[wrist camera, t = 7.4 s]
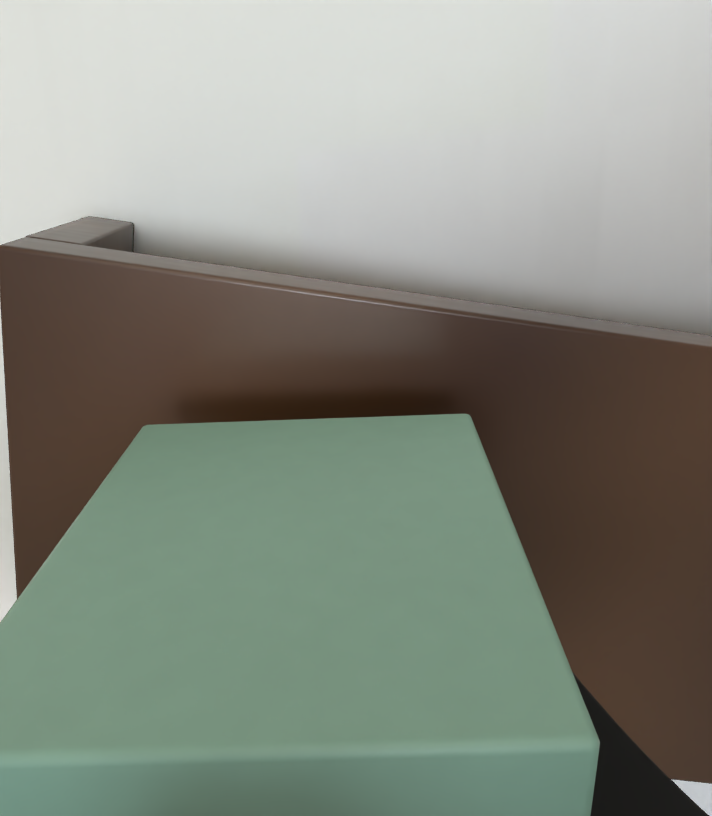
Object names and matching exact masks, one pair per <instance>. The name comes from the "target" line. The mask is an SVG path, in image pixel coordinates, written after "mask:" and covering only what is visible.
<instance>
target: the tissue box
mask: <svg viewBox="0 0 712 816" xmlns="http://www.w3.org/2000/svg"><path fill="white" fill-rule="evenodd" d="M599 747H600V740H599V738H598V735H597V733H596V730H595V728H594V725H593V723H592V720H591V718H590V715H589V713H588V710H587V708H586V705H585V703H584V700H583V698H582V695H581V693H580V690H579V688H578V685H577V683H576V680H575V678H574V675H573V673H572V670H571V667H570V665H569V662H568V660H567V657H566V655H565V652H564V650H563V647H562V645H561V642H560V640H559V637H558V635H557V632H556V630H555V627H554V625H553V622H552V620H551V617H550V615H549V612H548V610H547V607H546V605H545V602H544V600H543V597H542V595H541V592H540V589H539V587H538V584H537V582H536V579H535V577H534V574H533V572H532V569H531V567H530V564H529V562H528V559H527V557H526V554H525V552H524V549H523V547H522V544H521V542H520V539H519V537H518V534H517V532H516V529H515V527H514V524H513V522H512V519H511V516H510V514H509V511H508V509H507V506H506V504H505V501H504V499H503V496H502V494H501V491H500V489H499V486H498V484H497V481H496V479H495V476H494V474H493V471H492V469H491V466H490V464H489V461H488V459H487V456H486V454H485V451H484V449H483V446H482V444H481V441H480V438H479V436H478V433H477V431H476V428H475V426H474V423H473V421H472V418H471V416H470V415H468V414H440V415H411V416H383V417H354V418H326V419H298V420H269V421H241V422H212V423H184V424H156V425H146V426H143V427H142V428H141V430H140V431H139V433H138V434H137V435H136V437H135V438H134V439H133V441H132V442H131V444H130V445H129V446H128V448H127V449H126V450H125V452H124V453H123V455H122V456H121V457H120V459H119V460H118V462H117V463H116V464H115V466H114V467H113V468H112V470H111V471H110V473H109V474H108V475H107V477H106V478H105V479H104V481H103V482H102V484H101V485H100V486H99V488H98V489H97V490H96V492H95V493H94V495H93V496H92V497H91V499H90V500H89V501H88V503H87V504H86V506H85V507H84V508H83V510H82V511H81V512H80V514H79V515H78V517H77V518H76V519H75V521H74V522H73V523H72V525H71V526H70V528H69V529H68V530H67V532H66V533H65V534H64V536H63V537H62V539H61V540H60V541H59V543H58V544H57V545H56V547H55V548H54V550H53V551H52V552H51V554H50V555H49V556H48V558H47V559H46V561H45V562H44V563H43V565H42V566H41V567H40V569H39V570H38V572H37V573H36V574H35V576H34V577H33V578H32V580H31V581H30V583H29V584H28V585H27V587H26V588H25V589H24V591H23V592H22V594H21V595H20V596H19V598H18V599H17V600H16V602H15V603H14V605H13V606H12V607H11V609H10V610H9V611H8V613H7V614H6V616H5V617H4V618H3V620H2V621H1V622H0V816H591V808H592V801H593V793H594V785H595V778H596V770H597V763H598V755H599Z"/></svg>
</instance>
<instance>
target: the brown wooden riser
mask: <svg viewBox="0 0 712 816" xmlns="http://www.w3.org/2000/svg"><path fill="white" fill-rule="evenodd" d="M0 302H1V320H2V338H3V355H4V373H5V391H6V409H7V427H8V445H9V463H10V481H11V499H12V517H13V535H14V553H15V571H16V589H17V599H18V598H19V596H20V595H21V594H22V592H23V591H24V589H25V588H26V587H27V585H28V584H29V583H30V581H31V580H32V578H33V577H34V576H35V574H36V573H37V572H38V570H39V569H40V567H41V566H42V565H43V563H44V562H45V561H46V559H47V558H48V556H49V555H50V554H51V552H52V551H53V550H54V548H55V547H56V545H57V544H58V543H59V541H60V540H61V539H62V537H63V536H64V534H65V533H66V532H67V530H68V529H69V528H70V526H71V525H72V523H73V522H74V521H75V519H76V518H77V517H78V515H79V514H80V512H81V511H82V510H83V508H84V507H85V506H86V504H87V503H88V501H89V500H90V499H91V497H92V496H93V495H94V493H95V492H96V490H97V489H98V488H99V486H100V485H101V484H102V482H103V481H104V479H105V478H106V477H107V475H108V474H109V473H110V471H111V470H112V468H113V467H114V466H115V464H116V463H117V462H118V460H119V459H120V457H121V456H122V455H123V453H124V452H125V450H126V449H127V448H128V446H129V445H130V444H131V442H132V441H133V439H134V438H135V437H136V435H137V434H138V433H139V431H140V430H141V428H142V427H143V426H146V425H156V424H184V423H212V422H241V421H269V420H298V419H326V418H354V417H383V416H411V415H440V414H468V415H470V416H471V418H472V421H473V423H474V426H475V428H476V431H477V433H478V436H479V438H480V441H481V444H482V446H483V449H484V451H485V454H486V456H487V459H488V461H489V464H490V466H491V469H492V471H493V474H494V476H495V479H496V481H497V484H498V486H499V489H500V491H501V494H502V496H503V499H504V501H505V504H506V506H507V509H508V511H509V514H510V516H511V519H512V522H513V524H514V527H515V529H516V532H517V534H518V537H519V539H520V542H521V544H522V547H523V549H524V552H525V554H526V557H527V559H528V562H529V564H530V567H531V569H532V572H533V574H534V577H535V579H536V582H537V584H538V587H539V589H540V592H541V595H542V597H543V600H544V602H545V605H546V607H547V610H548V612H549V615H550V617H551V620H552V622H553V625H554V627H555V630H556V632H557V635H558V637H559V640H560V642H561V645H562V647H563V650H564V652H565V655H566V657H567V660H568V662H569V665H570V667H571V670H572V672H573V673H574V674H575V675H576V677H577V678H578V679H579V680H580V681H581V683H582V684H583V685H584V686H585V687H586V689H587V690H588V691H589V692H590V693H591V694H592V695H593V697H594V698H595V699H596V700H597V701H598V702H599V703H600V705H601V706H602V707H603V708H604V709H605V710H606V711H607V713H608V714H609V715H610V716H611V717H612V718H613V719H614V721H615V722H616V723H617V724H618V725H619V726H620V727H621V728H622V729H623V730H624V731H625V733H626V734H627V735H628V736H629V737H630V738H631V739H632V740H633V741H634V742H635V743H636V744H637V745H638V746H639V748H640V749H641V750H642V751H643V752H644V753H645V754H646V755H647V756H648V757H649V758H650V759H651V760H652V761H653V762H654V763H655V764H656V765H657V766H658V767H659V768H660V769H661V770H662V771H663V772H664V773H665V774H666V775H667V776H668V777H669V778H670V779H674V780H684V781H693V782H702V783H711V784H712V336H709V335H702V334H696V333H689V332H682V331H675V330H668V329H661V328H654V327H647V326H640V325H633V324H626V323H619V322H612V321H605V320H598V319H592V318H585V317H578V316H571V315H564V314H557V313H550V312H543V311H536V310H529V309H522V308H515V307H508V306H501V305H494V304H487V303H481V302H474V301H467V300H460V299H453V298H446V297H439V296H432V295H425V294H418V293H411V292H404V291H397V290H390V289H383V288H377V287H370V286H363V285H356V284H349V283H342V282H335V281H328V280H321V279H314V278H307V277H300V276H293V275H286V274H279V273H273V272H266V271H259V270H252V269H245V268H238V267H231V266H224V265H217V264H210V263H203V262H196V261H189V260H182V259H175V258H169V257H162V256H155V255H148V254H141V253H134V252H133V224H132V223H131V222H124V221H117V220H110V219H104V218H97V217H90V216H88V217H85V218H82V219H79V220H76V221H72V222H69V223H66V224H63V225H60V226H57V227H54V228H50V229H47V230H44V231H41V232H38V233H35V234H31V235H28V236H26V237H24V238H21V239H18V240H15V241H12V242H8V243H5V244H2V245H0Z"/></svg>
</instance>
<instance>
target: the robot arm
mask: <svg viewBox="0 0 712 816" xmlns="http://www.w3.org/2000/svg"><path fill="white" fill-rule="evenodd" d="M572 673H573V672H572ZM573 675H574V678H575V680H576V683H577V685H578V688H579V690H580V693H581V695H582V698H583V700H584V703H585V705H586V708H587V710H588V713H589V715H590V718H591V720H592V723H593V725H594V728H595V730H596V733H597V735H598V738H599V740H600V747H599V755H598V763H597V770H596V778H595V785H594V793H593V801H592V808H591V816H709V815H707V814H706V813H705V812H704V811H703V810H702V809H701V808H700V807H699V806H698V805H697V804H696V803H694V802H693V801H692V800H691V799H690V798H689V797H688V796H687V795H686V794H685V793H684V792H683V791H682V790H681V789H680V788H679V787H678V786H677V785H676V784H675V783H674V782H673V781H672V780H671V779H670V778H669V777H668V776H667V775H666V774H665V773H664V772H663V771H662V770H661V769H660V768H659V767H658V766H657V765H656V764H655V763H654V762H653V761H652V760H651V759H650V758H649V757H648V756H647V755H646V754H645V753H644V752H643V751H642V750H641V749H640V748H639V746H638V745H637V744H636V743H635V742H634V741H633V740H632V739H631V738H630V737H629V736H628V735H627V734H626V733H625V731H624V730H623V729H622V728H621V727H620V726H619V725H618V724H617V723H616V722H615V721H614V719H613V718H612V717H611V716H610V715H609V714H608V713H607V711H606V710H605V709H604V708H603V707H602V706H601V705H600V703H599V702H598V701H597V700H596V699H595V698H594V697H593V695H592V694H591V693H590V692H589V691H588V690H587V689H586V687H585V686H584V685H583V684H582V683H581V681H580V680H579V679H578V678H577V677H576V675H575V674H574V673H573Z"/></svg>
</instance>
